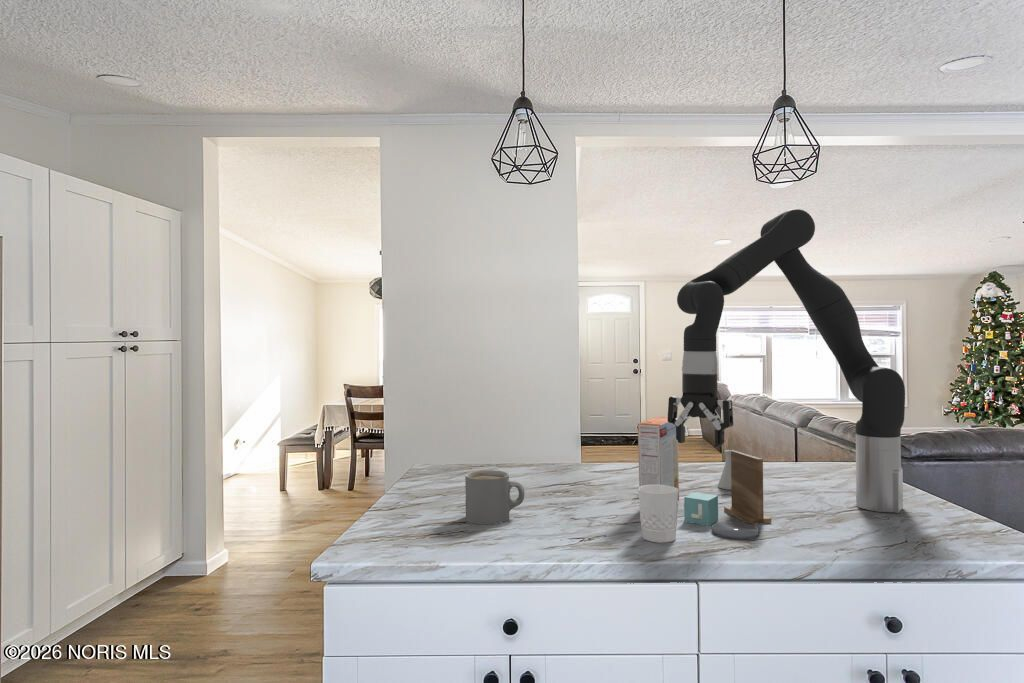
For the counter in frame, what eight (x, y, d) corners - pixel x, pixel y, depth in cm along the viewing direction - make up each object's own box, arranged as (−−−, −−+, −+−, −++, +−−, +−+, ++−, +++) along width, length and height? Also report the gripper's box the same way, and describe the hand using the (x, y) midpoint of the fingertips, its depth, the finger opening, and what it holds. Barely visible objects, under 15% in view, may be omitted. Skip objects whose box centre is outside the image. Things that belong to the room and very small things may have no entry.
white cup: (650, 529, 135) (649, 482, 135) (685, 536, 130) (684, 487, 130) (632, 539, 129) (631, 489, 129) (668, 546, 124) (667, 495, 124)
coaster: (763, 531, 133) (763, 526, 133) (749, 542, 126) (749, 537, 126) (721, 523, 138) (721, 519, 138) (705, 534, 131) (705, 529, 131)
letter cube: (718, 520, 142) (717, 495, 142) (708, 526, 137) (708, 500, 137) (694, 516, 145) (694, 492, 145) (684, 521, 141) (684, 497, 141)
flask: (749, 490, 168) (748, 453, 168) (721, 491, 169) (721, 453, 169) (740, 484, 176) (739, 448, 176) (713, 484, 176) (713, 448, 176)
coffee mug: (463, 524, 140) (462, 479, 140) (468, 512, 150) (467, 470, 150) (523, 524, 139) (523, 479, 139) (525, 512, 149) (524, 469, 149)
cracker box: (656, 498, 161) (655, 416, 161) (680, 501, 158) (679, 417, 158) (637, 511, 149) (636, 422, 149) (662, 514, 146) (661, 423, 146)
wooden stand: (743, 509, 150) (743, 450, 150) (771, 522, 139) (770, 458, 139) (724, 511, 149) (723, 451, 149) (750, 524, 138) (749, 459, 138)
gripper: (737, 372, 140) (737, 446, 140) (677, 370, 149) (676, 439, 149) (725, 373, 134) (724, 450, 134) (662, 371, 143) (662, 443, 143)
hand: (699, 444), depth 141 cm, fingers open, 8 cm apart
